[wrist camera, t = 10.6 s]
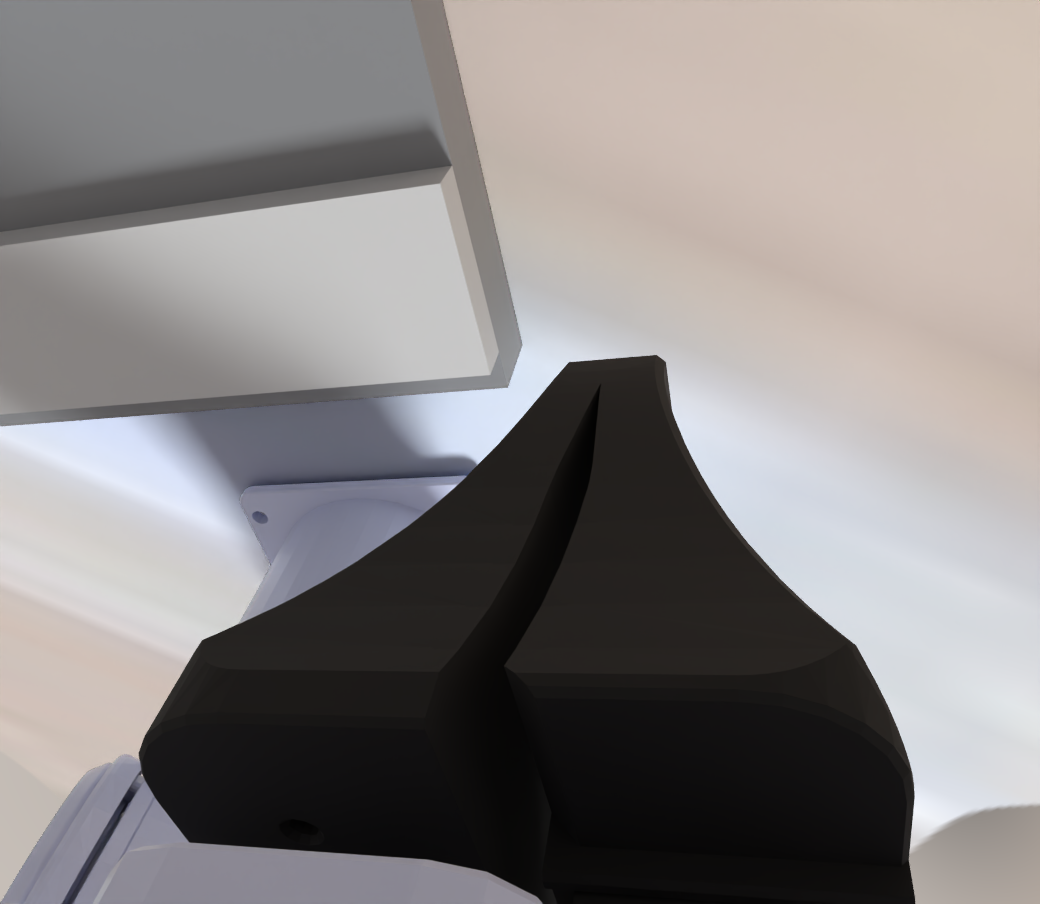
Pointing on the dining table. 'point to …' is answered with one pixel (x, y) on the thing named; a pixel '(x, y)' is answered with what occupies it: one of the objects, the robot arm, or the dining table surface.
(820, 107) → the dining table surface
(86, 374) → the breaker panel
